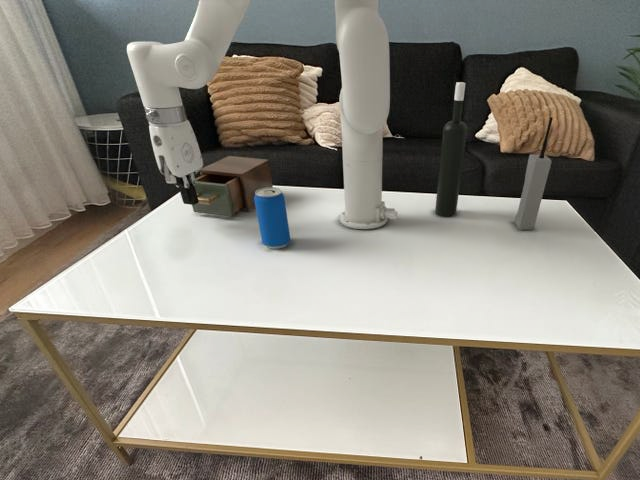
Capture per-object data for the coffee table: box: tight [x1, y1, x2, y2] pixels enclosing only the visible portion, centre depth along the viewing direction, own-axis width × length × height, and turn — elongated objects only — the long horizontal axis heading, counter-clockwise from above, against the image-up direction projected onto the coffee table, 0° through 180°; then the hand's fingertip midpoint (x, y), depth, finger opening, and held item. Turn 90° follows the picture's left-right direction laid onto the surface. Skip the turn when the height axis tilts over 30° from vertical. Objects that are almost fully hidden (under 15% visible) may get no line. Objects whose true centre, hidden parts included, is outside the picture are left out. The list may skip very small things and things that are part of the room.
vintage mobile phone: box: [513, 116, 554, 231], centre depth 98 cm, size 4×5×25 cm
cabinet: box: [199, 155, 274, 212], centre depth 114 cm, size 15×13×10 cm
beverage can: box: [254, 187, 291, 250], centre depth 91 cm, size 6×6×12 cm
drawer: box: [191, 174, 245, 218], centre depth 107 cm, size 18×11×8 cm, turn 165°
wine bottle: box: [434, 81, 468, 218], centre depth 102 cm, size 6×6×30 cm
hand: (191, 203), depth 98 cm, fingers closed
